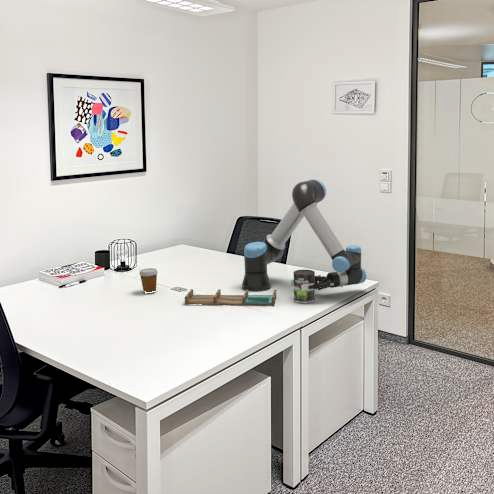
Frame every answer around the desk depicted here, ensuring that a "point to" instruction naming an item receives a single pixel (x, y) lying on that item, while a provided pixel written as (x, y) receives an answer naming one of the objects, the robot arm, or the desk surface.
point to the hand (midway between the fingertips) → (296, 285)
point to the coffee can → (301, 279)
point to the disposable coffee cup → (149, 279)
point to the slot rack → (231, 299)
